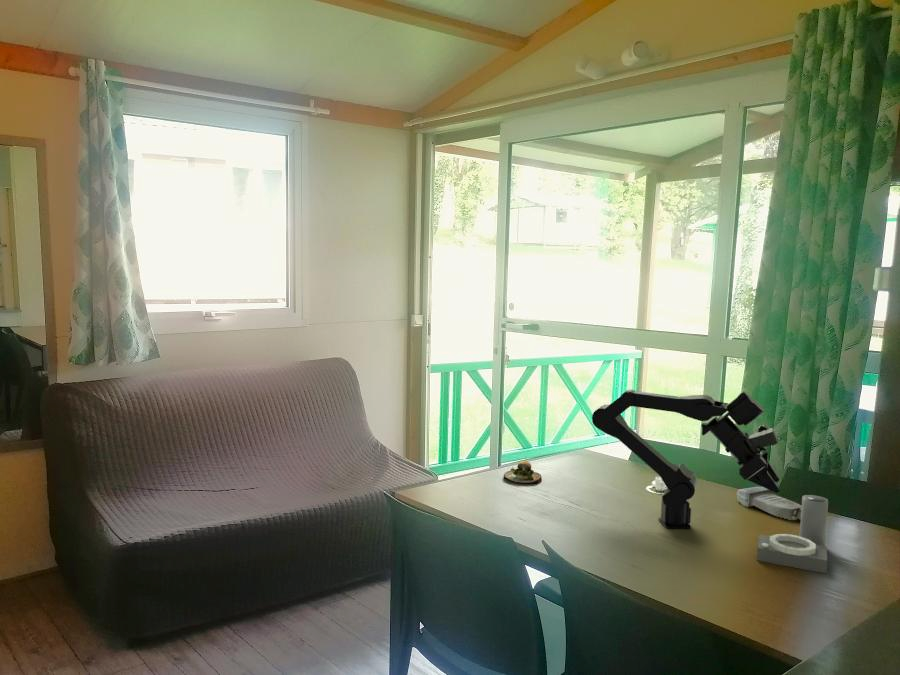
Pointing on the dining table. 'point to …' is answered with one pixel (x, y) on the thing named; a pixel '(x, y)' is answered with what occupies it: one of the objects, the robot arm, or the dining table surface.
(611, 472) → the dining table surface
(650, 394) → the robot arm
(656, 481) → the teacup and saucer
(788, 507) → the handheld device
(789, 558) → the grey rectangular block
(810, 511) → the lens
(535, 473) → the brown round piece
